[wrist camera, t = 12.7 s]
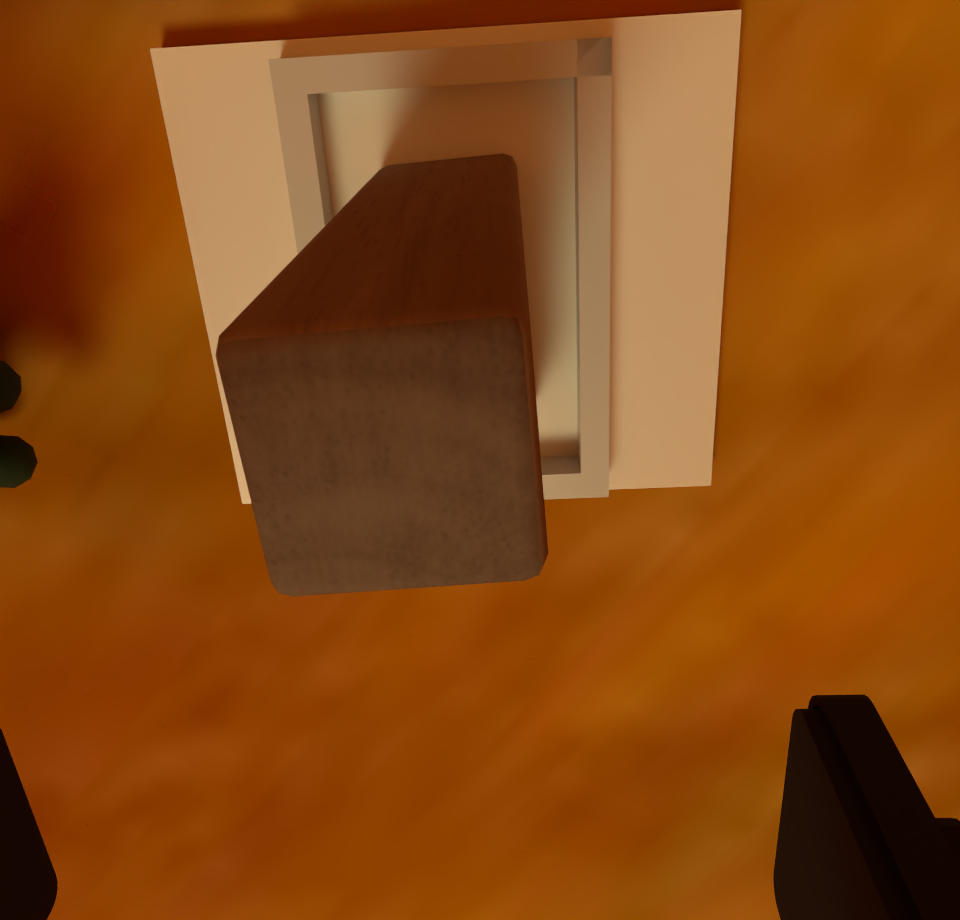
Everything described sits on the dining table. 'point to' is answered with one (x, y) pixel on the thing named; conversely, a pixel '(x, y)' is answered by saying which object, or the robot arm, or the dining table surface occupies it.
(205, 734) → the dining table surface
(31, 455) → the toy figurine
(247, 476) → the wooden block
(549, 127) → the dock tray
